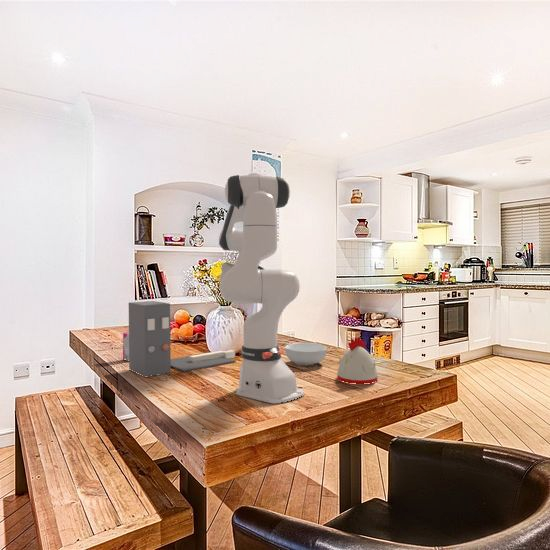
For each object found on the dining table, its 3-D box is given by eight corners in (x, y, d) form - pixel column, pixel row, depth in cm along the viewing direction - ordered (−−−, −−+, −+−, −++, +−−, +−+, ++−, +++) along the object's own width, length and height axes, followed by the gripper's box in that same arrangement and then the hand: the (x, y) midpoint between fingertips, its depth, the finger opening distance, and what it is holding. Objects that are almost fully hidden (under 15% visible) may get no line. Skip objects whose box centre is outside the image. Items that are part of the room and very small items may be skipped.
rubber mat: (235, 362, 173) (235, 360, 173) (184, 372, 157) (184, 370, 157) (209, 354, 188) (209, 352, 188) (159, 362, 172) (159, 360, 172)
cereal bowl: (276, 363, 170) (276, 346, 170) (302, 357, 183) (302, 341, 182) (309, 371, 159) (309, 352, 159) (334, 363, 171) (334, 346, 171)
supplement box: (142, 359, 178) (141, 332, 177) (129, 362, 173) (128, 334, 173) (135, 357, 182) (135, 331, 181) (122, 359, 177) (122, 333, 177)
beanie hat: (329, 378, 149) (329, 336, 149) (355, 372, 158) (356, 332, 157) (358, 387, 138) (358, 342, 138) (385, 380, 146) (385, 338, 146)
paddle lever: (194, 357, 168) (194, 365, 168) (235, 350, 182) (235, 357, 182) (187, 355, 173) (187, 362, 173) (227, 348, 186) (227, 355, 186)
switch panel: (171, 373, 156) (171, 303, 155) (146, 378, 149) (145, 305, 148) (153, 365, 167) (153, 300, 166) (129, 370, 160) (128, 302, 159)
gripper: (224, 258, 178) (218, 288, 172) (269, 270, 183) (264, 300, 178) (221, 263, 183) (214, 292, 178) (264, 275, 189) (260, 304, 183)
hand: (240, 296), depth 178 cm, fingers open, 8 cm apart
